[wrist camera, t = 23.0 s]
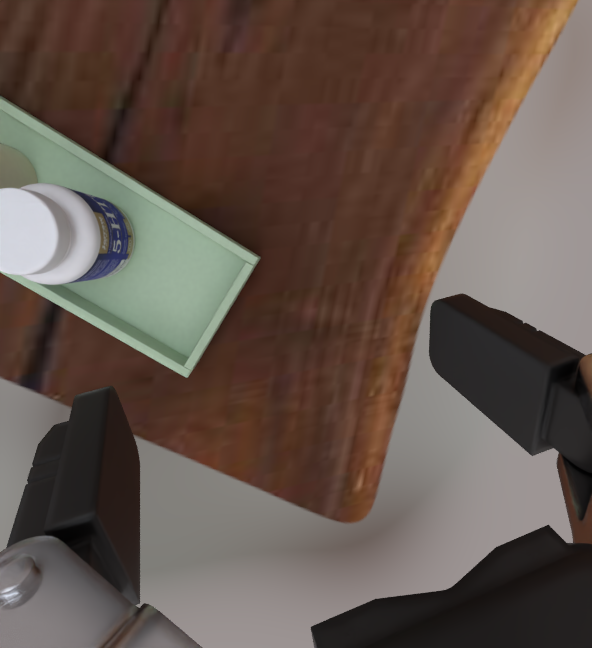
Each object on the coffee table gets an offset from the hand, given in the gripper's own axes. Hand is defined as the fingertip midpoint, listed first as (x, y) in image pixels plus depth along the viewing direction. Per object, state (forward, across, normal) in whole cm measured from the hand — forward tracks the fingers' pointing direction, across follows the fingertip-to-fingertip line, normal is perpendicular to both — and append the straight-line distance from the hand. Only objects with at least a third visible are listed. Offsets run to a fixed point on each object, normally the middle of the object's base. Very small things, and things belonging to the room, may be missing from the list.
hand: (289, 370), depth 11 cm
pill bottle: (+22, +7, +1) cm, 23 cm away
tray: (+24, +9, -1) cm, 26 cm away
